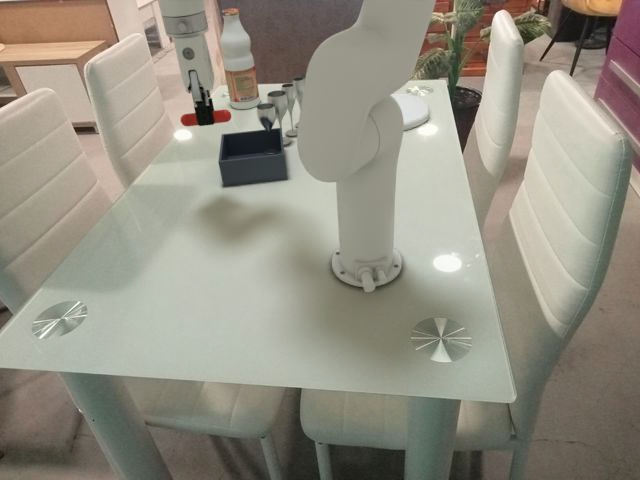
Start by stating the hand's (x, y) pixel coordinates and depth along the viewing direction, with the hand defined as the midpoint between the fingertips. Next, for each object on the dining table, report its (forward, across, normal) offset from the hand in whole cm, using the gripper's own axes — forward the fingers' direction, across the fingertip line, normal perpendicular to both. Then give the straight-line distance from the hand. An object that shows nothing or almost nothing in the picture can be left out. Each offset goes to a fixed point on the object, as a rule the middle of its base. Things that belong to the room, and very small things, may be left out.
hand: (207, 120), depth 96 cm
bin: (+19, +14, -7) cm, 25 cm away
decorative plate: (+19, +37, -46) cm, 62 cm away
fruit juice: (+20, +59, -5) cm, 62 cm away
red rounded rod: (+1, 0, 0) cm, 1 cm away
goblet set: (+19, +32, -18) cm, 41 cm away
